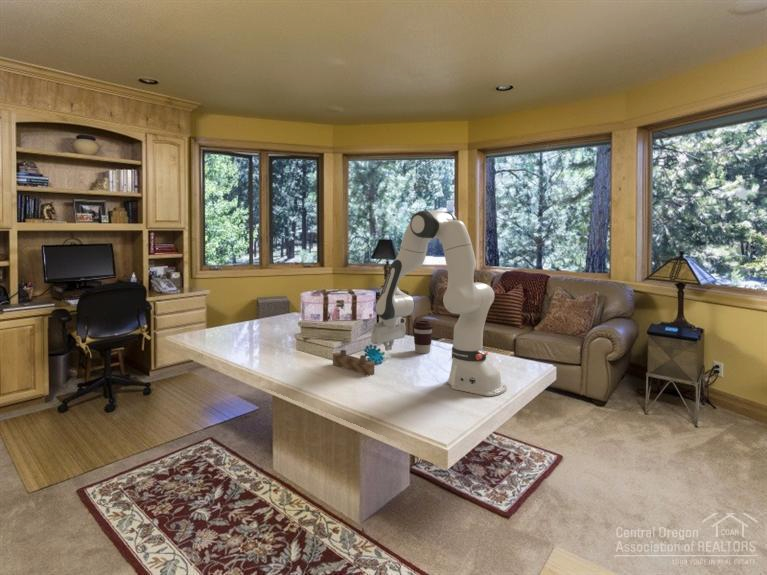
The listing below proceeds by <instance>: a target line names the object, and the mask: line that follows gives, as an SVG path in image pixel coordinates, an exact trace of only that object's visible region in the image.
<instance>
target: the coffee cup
mask: <svg viewBox="0 0 767 575" xmlns="http://www.w3.org/2000/svg"><path fill="white" fill-rule="evenodd" d="M412 328H413V330H414V331H413V341H414V342H413V343H414V351H415V353H417V354H424V355H425V354H429V353H430V352H431V346H432V340H433V339H432V338H433V330H434V324H432V323H431V321H430V320H416V321H415V323H413V324H412Z"/></svg>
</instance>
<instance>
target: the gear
mask: <svg viewBox="0 0 767 575" xmlns="http://www.w3.org/2000/svg"><path fill="white" fill-rule="evenodd" d="M377 347H378V346H376V345H373V344H369V345H366V346H365V349H364V350H363V352H365V353H364V355H365V356H366V360H367V361H371V362H374V364H375V365H377V364H378V365H380V364H383V361H384V360H385V357H384V355H385V354H386V353H385V351H381V348H380V347H379V348H378V349H377Z"/></svg>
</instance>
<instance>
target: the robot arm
mask: <svg viewBox="0 0 767 575" xmlns="http://www.w3.org/2000/svg"><path fill="white" fill-rule="evenodd" d="M432 239H433V240H435V239H438V240H439V241H440V242H441V245H442V250H443V251H442V252H443V254H444V255H443V256H444V259H445V264H446V268H447V287H446V289H445V292H444V294H443V298H442V301H443V306H444V307H445V309H446V310H447V311H448V312H449V313H451V314H456V315H459V317H458V320H457V321H456V323H455V324H454V327H453V342H452V347H451V359H452V360H451V367H450V373H449V376H448V379H447V383H448V385H449V386H450V389H452V390H456V391H460V392H461V391H462V392H467V393H471V394H476V395H481V396H486V397H495V396H498V395H501V394H503V393H505V392H506V391H507V390H508V386H507V384H506V383H502V377H501V373H500V371H499V370H498V369H497V368H496V366H494V365H493V364H492V363H491V362H490V361H489V360H488V359H487V355H489V351H485V350H484V348H483V344H484V343H483V341H484V340H483V339H484V327H485V323H486V320H487V317H488V313H489V310H490V308H491V306H492V304H493V303H494V301H495V291H494V289H493V288H492V286H490V285H489V284H486V283H484V282H478V281H477V282H474V280H475V279H474V277H475V276H474V275H475V270H476V267H477V260H476V256H475V255H476V254H475V252H474V247H473V244H472V239H471V237H470V233H469V232H468V229H467V227H466V225H465V223H464V222H463V221H461V220H458V217H457V216H456V215H455V214H453V213H451V212H449V211H442V210H440V211H439V210H434V209H433V210H432V209H431V210H421V211H416V212H415V213H414V214H412V216H411V218H410V223H409V224H407V226H406V229H405V231H404V234H403V237H402V239H401V245H400V248H399V251H398V254H397V255H396V258H395V259H394V260H393V261H392V262H391V264H390V266H389V268H388V270H387V274H386V277H385V280H384V284H383V285H382V287H381V288H380V291H379V296H378V298H377V300H376V302H375V307H374V310H375V313H376V314H377V316H378V322H375V323H374V324H373V325H372V329H371V335H370V342H371V344H374V345H379V344H383V345H384V346H383V347H384V350H385V351H387V352H388V351H392V349H393V345H394V343H395V340H399V339H403V338H404V337H405V335H406V328H407V326H406V320H407V319H406V318H405V317H407V316H411V315H412V314H413V313H414V311H415V307H416V306H415V305H416V304H415V299H414V298H413V297H412V295H409V294H407V293H405V292H403V291H401V290H400V288H399V283H400V281H401V280H402V279H403V278H404V277H405V276H406V275H407V274H409V273H411V272H414V271H416V270H417V269H419V268H421V266H423V264H424V262H425V260H426V255H427V252H428V247H429V246H428V245H429V243H430V241H431V240H432Z"/></svg>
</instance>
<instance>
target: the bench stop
mask: <svg viewBox="0 0 767 575" xmlns="http://www.w3.org/2000/svg"><path fill="white" fill-rule="evenodd" d="M335 365H336V367H338V366H339V368H342V367H343V368H342V369H345V368H346V370H348V369H349V371H351V370H352V372H355V373H358V374H360V375H361V374H362V375H364V376H367V375H368V376H369V377H371V376H373V375H375V363H374V362H372V360H370V361H368V359H367V356H365V354H361V355H360V356H359V357H356V356H353V355H349V354H347V349H340V351H339V352H334V353H332V366H335ZM370 375H371V376H370Z"/></svg>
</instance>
